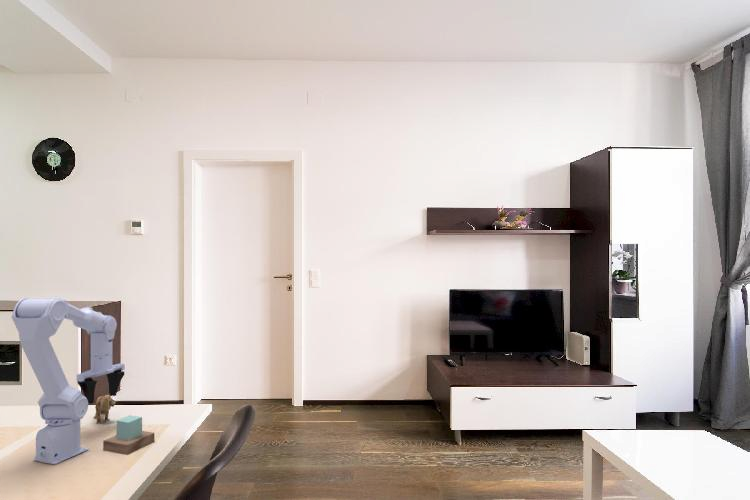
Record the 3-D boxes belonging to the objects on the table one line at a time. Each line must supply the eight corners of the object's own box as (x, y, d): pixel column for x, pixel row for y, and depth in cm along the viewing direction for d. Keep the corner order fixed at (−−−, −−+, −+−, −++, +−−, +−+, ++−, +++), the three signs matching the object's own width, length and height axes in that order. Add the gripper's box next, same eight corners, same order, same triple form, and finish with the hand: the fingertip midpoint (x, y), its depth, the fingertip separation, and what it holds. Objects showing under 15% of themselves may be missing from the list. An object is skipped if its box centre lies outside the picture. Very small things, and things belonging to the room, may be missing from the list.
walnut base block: (127, 454, 121) (127, 445, 121) (103, 449, 124) (103, 440, 124) (154, 441, 130) (154, 432, 130) (131, 437, 133) (131, 428, 133)
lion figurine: (117, 422, 145) (117, 394, 145) (98, 427, 141) (98, 398, 142) (105, 411, 156) (105, 385, 156) (87, 415, 152) (87, 388, 152)
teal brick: (128, 440, 124) (128, 422, 124) (116, 438, 126) (116, 420, 126) (142, 434, 128) (142, 417, 128) (130, 432, 130) (130, 415, 130)
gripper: (88, 360, 130) (88, 407, 129) (131, 350, 143) (131, 393, 143) (71, 359, 132) (71, 405, 132) (115, 349, 146) (115, 391, 145)
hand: (101, 399), depth 138 cm, fingers open, 7 cm apart
